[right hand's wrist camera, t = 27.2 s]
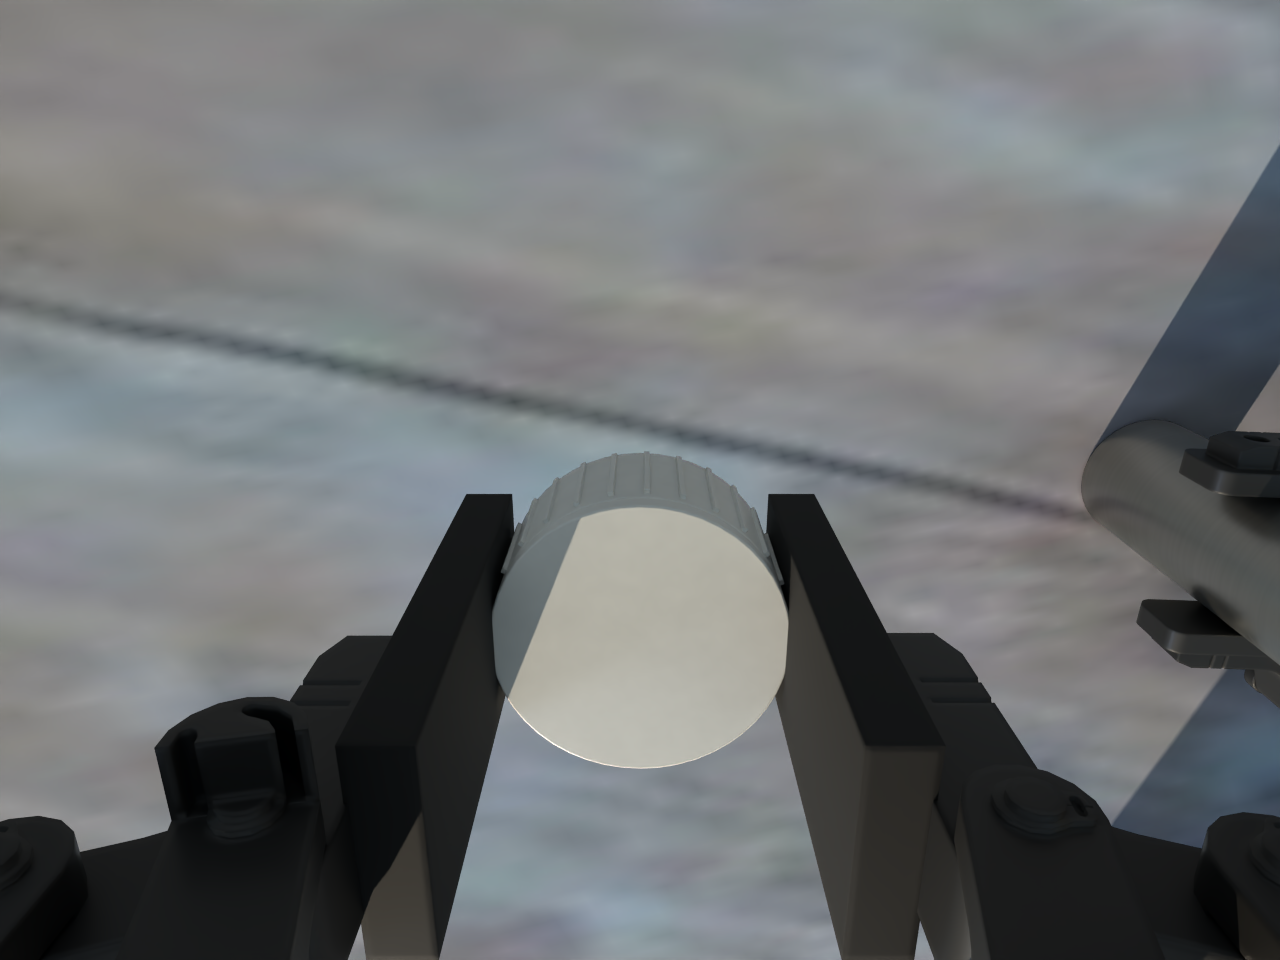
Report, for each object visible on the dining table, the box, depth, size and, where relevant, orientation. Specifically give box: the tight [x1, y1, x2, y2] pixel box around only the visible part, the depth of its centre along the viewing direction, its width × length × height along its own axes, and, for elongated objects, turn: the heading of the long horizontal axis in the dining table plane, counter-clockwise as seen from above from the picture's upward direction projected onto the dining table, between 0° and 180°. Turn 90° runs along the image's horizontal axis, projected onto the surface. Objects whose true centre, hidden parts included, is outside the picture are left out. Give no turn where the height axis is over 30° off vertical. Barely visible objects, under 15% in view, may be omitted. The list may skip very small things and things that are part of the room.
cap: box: [492, 451, 789, 768], centre depth 13 cm, size 4×4×2 cm
